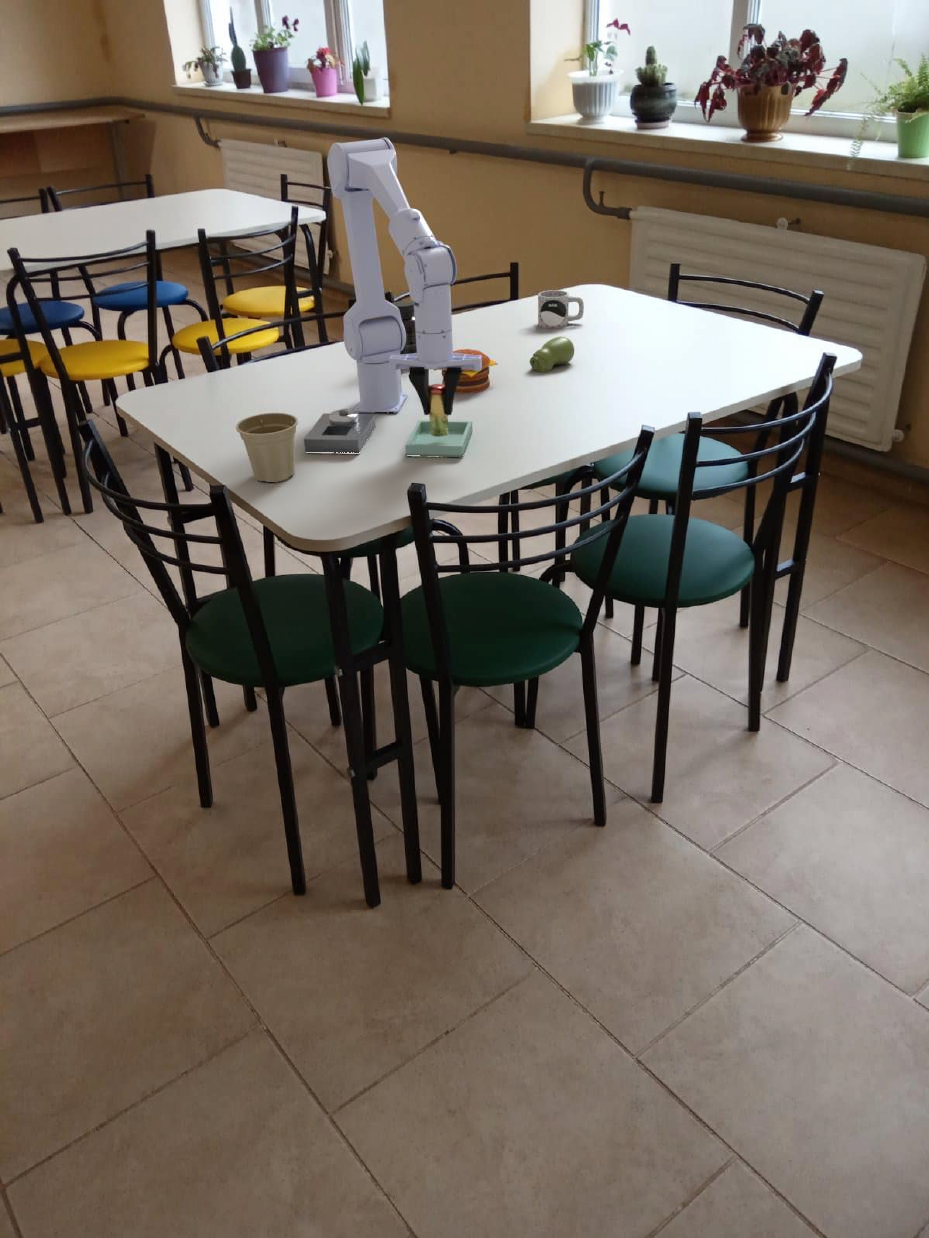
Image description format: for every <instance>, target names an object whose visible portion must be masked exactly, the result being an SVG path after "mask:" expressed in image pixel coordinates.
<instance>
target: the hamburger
mask: <svg viewBox="0 0 929 1238" xmlns="http://www.w3.org/2000/svg"><path fill="white" fill-rule="evenodd" d="M453 353H460V354H468V355H481V356H482V369H481V371H474V370H463V372H462V374H461V377H460V379H459V382H458V385H457V388H456V392H457V393H459V394H465V393H466V394H471V392H472V393H476V391H477V392H481V391H483V390H486V389H487V388H488V387H489V386H490V384H491V383H490V381H491V380H490V376H489V375H490V367H492V366H496V365H497V366H498V362H496V361H494V360H493V359H490V357H489V356H488V355H486V354H485V353H483V352H482V351H480V350H477V349H469V348H466V349H465V348H463V349H458V350H453ZM439 370H441V376H442V383H441V384H443V385H445V383H444V374H445V372H446V371H447V369H433V371H434V372H435V371H439ZM480 390H481V391H480ZM456 392H455V393H456Z"/></svg>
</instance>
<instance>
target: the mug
mask: <svg viewBox="0 0 929 1238" xmlns="http://www.w3.org/2000/svg"><path fill="white" fill-rule="evenodd" d="M569 303H577V304H578V313H577V314H576V315H575V314H574V315H571V314H570V315H569V306H570V305H569ZM584 305H585V303H584V300H583V298H581V297H578V296H574V295H573V296H572V295H569V292H567V291H566V290H559V289H557V290H556V289H555V290H554V289H550V290H544V291H540V292H538V294H537V323H538V327H541V328H542V329H561V328H566V327H567V326H569V322H574V321H579V320H581V319H582V318H583V316H584V308H585V306H584Z"/></svg>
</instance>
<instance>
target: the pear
mask: <svg viewBox="0 0 929 1238" xmlns="http://www.w3.org/2000/svg"><path fill="white" fill-rule="evenodd" d="M574 355H575V345H574V343H573V342H572V341H571V340H570V339H569V338H568V337H565V336H556V337H553V338H552V339H549V340H548V341H546V342H545V343H544V344H543V345H542V346H541V348H540V349H537V350H536V351H535V352H534V353H533V354H532V357H531V358H530V359H529V365H530V366H531V369H532V370H535V371H536V372H539V373H547V372H549V371H551V370H552V369H553V366H554V365H561V366H562V365H566V364H568V363H570V362H571V361H572V359H573V358H574Z"/></svg>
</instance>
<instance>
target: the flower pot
mask: <svg viewBox="0 0 929 1238" xmlns="http://www.w3.org/2000/svg"><path fill="white" fill-rule="evenodd" d="M298 424H299V420H298V417H296V416H295V415H293V414H289V413H285V412H265V413H259V414H254V415H251V416H248V417H245V418H242V420H241V419H240V421H238V422H237V423H236V425H235V430H236V432H238V433H239V436H240V438H241V440H242V441H243V443H244V446H245V449H246V454H247V456H248V459H249V463H250V465H251V468H252V472H253V475H254V478H255V479H256V480H257V481H258V480H259V482H266V483H268V482H275V483H278V482H279V481H280V482H284V481H286V479H287V480H289V479H290V477H292V475H293V476H294V475H295V473H296V472H295V471H296V470H295V465H296V464H295V449H296V447H295V435H296V432H297V426H298Z"/></svg>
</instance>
